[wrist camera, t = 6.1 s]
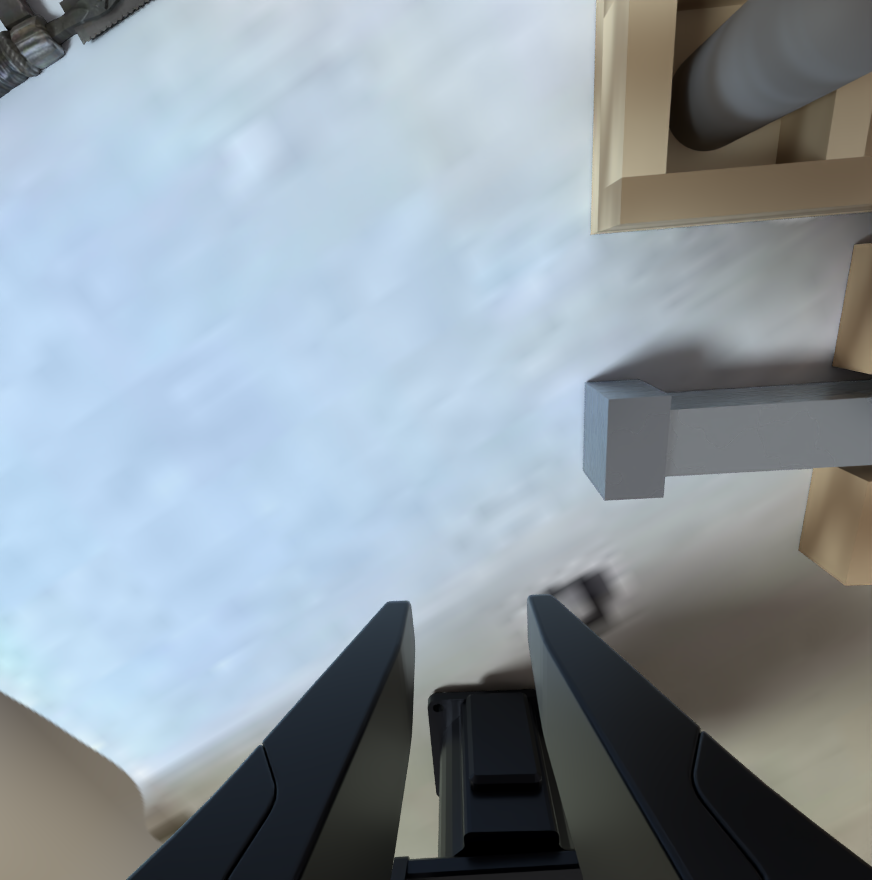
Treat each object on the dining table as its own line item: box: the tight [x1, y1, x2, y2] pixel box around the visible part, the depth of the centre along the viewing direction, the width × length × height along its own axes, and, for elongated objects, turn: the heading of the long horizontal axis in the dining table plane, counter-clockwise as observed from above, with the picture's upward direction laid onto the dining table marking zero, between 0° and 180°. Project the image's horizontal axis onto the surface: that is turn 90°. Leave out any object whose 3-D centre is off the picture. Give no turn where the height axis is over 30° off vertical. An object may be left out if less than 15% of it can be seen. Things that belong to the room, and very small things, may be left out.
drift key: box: [583, 379, 872, 501], centre depth 17 cm, size 4×12×3 cm, turn 94°
